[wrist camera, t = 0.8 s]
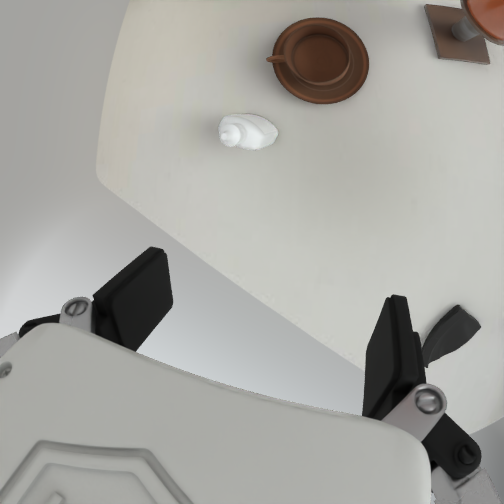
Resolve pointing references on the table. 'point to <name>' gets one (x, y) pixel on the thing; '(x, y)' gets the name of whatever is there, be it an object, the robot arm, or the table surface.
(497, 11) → the terracotta cup
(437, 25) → the cat scratching post
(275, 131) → the eye dropper bottle
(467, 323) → the fan shaped piece
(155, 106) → the table surface
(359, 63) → the cup and saucer
